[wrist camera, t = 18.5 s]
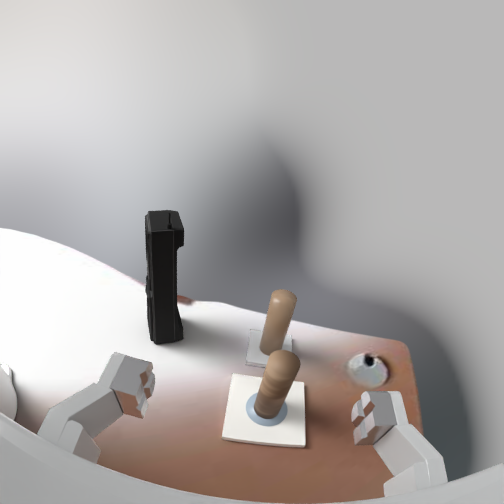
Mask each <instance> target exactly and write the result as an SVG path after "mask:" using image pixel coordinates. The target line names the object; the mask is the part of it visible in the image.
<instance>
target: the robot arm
mask: <svg viewBox="0 0 504 504" xmlns="http://www.w3.org/2000/svg"><path fill="white" fill-rule="evenodd" d="M152 369H153V365H152V362H148V361H144V360H140V359H137V358H133V357H130V356H127V355H124V354H120V353H117V352H114V353H113V354H112V355H111V357H110V359H109V361H108V363H107V365H106V367H105V369H104V371H103V373H102V375H101V377H100V379H99V381H98V383H97V384H95V383H93V384H91V385H90V386H88V387H86V388H85V389H83V390H81V391H79V392H78V393H76V394H74V395H73V396H71V397H69V398H67V399H66V400H64V401H62V402H61V403H59V404H57V405H55V406H54V407H52V408H50V409H49V411H48V413H47V415H46V417H45V419H44V421H43V423H42V425H41V427H40V429H39V431H38V433H37V435H36V434H34V433H33V432H31V431H29V430H27V429H26V428H24V427H23V426H21V425H19V424H18V423H16V422H15V421H14V419H15V416H16V412H17V396H16V392H15V389H14V387H13V384H12V371H11V368H10V367H9V366H8V365H7V364H4V363H0V504H283V503H263V502H251V501H241V500H233V499H225V498H218V497H212V496H206V495H201V494H196V493H191V492H186V491H181V490H177V489H173V488H169V487H165V486H161V485H157V484H154V483H150V482H147V481H143V480H140V479H137V478H134V477H131V476H128V475H125V474H122V473H119V472H116V471H114V470H111V469H108V468H106V467H103V466H101V465H98V464H97V461H98V458H99V455H100V452H101V450H100V448H99V447H98V446H97V444H96V443H95V442H94V441H93V438H94V437H95V436H97V435H98V434H99V433H101V432H102V431H103V430H104V429H106V428H107V427H108V426H109V425H111V424H112V423H113V422H115V421H116V420H117V419H118V418H120V417H121V416H122V415H123V413H124V414H128V415H131V416H135V417H138V418H142V419H144V416H145V413H146V410H147V407H148V403H147V399H148V398H149V397H151V396H152V393H153V390H154V385H155V376H154V374H153V373H152ZM352 423H353V424H354V425H355V426H356V428H355V430H354V431H353V434H354V443H355V445H373V447H374V448H375V450H376V451H377V453H378V454H379V456H380V457H381V458H382V460H383V461H384V463H385V464H386V466H387V467H388V468H389V470H390V471H391V473H392V474H393V476H394V477H393V478H391V479H390V480H388V481H386V482H385V483H384V495H385V497H382V498H375V499H368V500H359V501H350V502H337V503H318V504H504V463H500V464H497V465H494V466H492V467H490V468H487V469H485V470H482V471H480V472H477V473H474V474H471V475H469V476H466V477H463V478H460V479H457V480H454V481H451V482H448V480H447V476H446V470H445V466H444V461H443V457H442V456H441V455H440V454H439V453H438V452H437V451H436V449H435V448H434V447H433V446H432V445H431V444H430V443H429V442H428V441H427V440H426V439H425V438H424V437H423V436H422V435H421V434H420V433H419V432H418V431H417V429H416V428H415V427H414V426H413V425H412V424H408V420H407V416H406V412H405V408H404V404H403V400H402V396H401V393H400V392H399V391H366V392H364V393H363V394H362V395H361V400H359V401H357V402H356V403H355V405H354V406H353V410H352Z"/></svg>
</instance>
